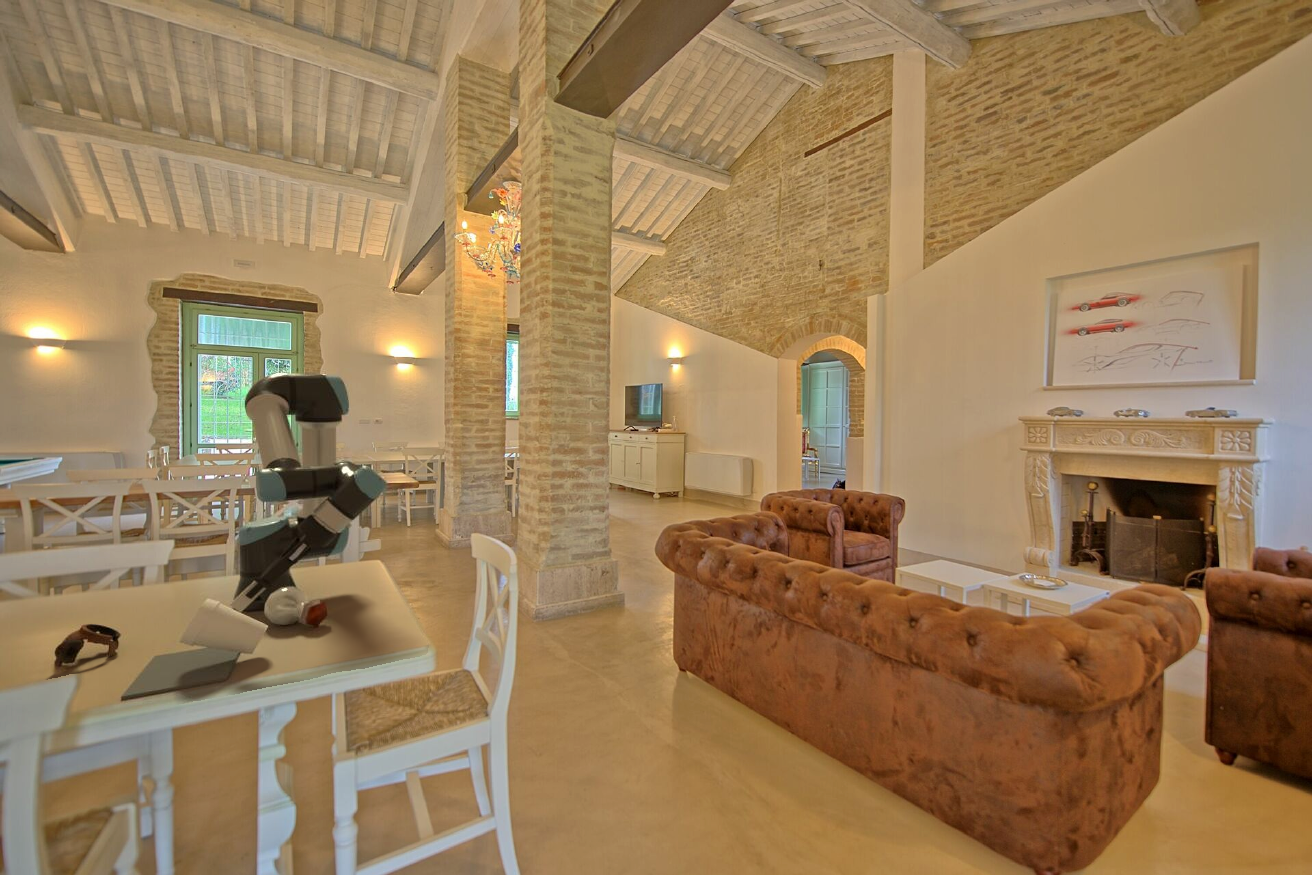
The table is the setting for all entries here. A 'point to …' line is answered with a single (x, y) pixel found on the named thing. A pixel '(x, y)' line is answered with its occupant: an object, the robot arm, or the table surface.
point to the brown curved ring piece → (87, 632)
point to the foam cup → (223, 629)
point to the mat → (182, 671)
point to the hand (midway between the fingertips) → (235, 607)
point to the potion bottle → (294, 608)
